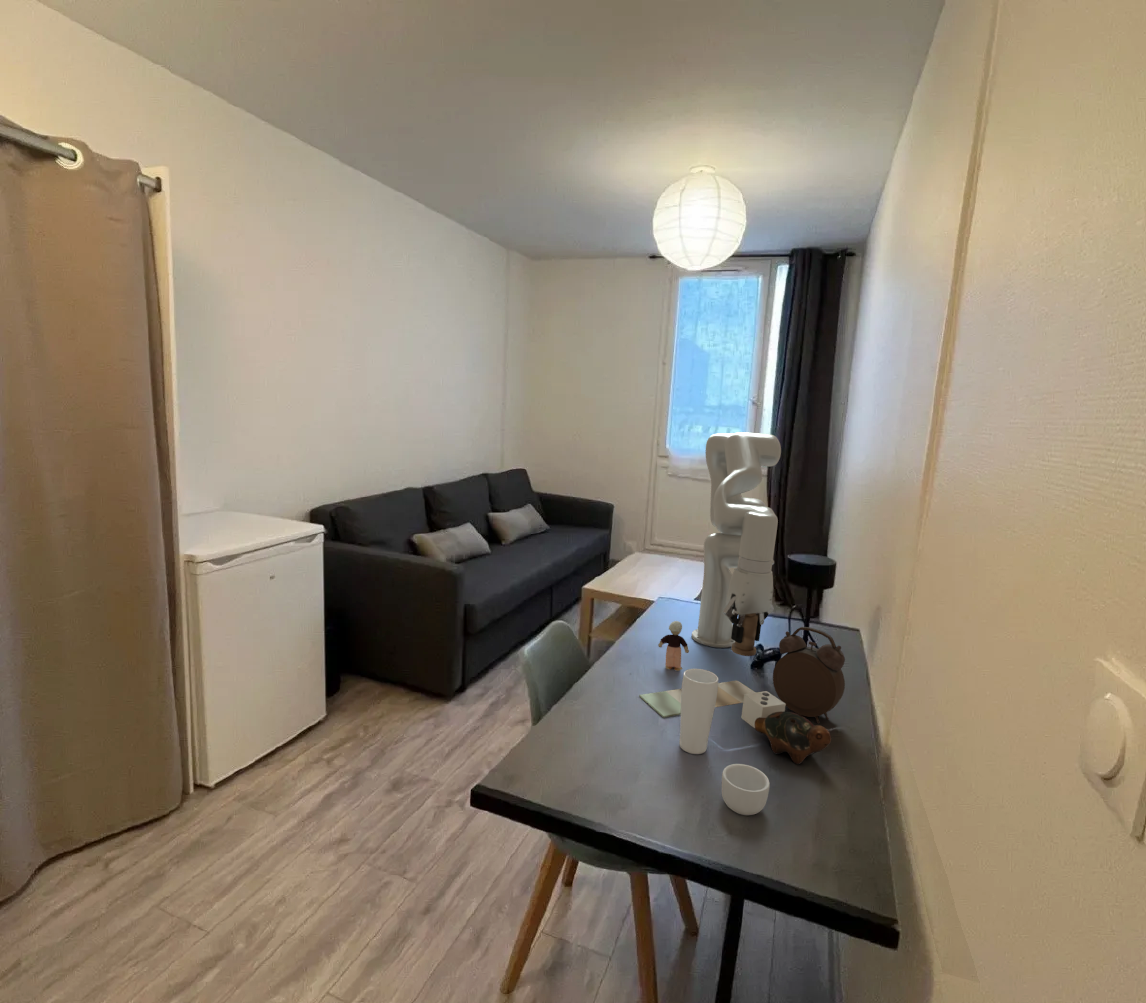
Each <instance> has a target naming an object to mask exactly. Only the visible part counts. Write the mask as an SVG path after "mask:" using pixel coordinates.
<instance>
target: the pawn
mask: <svg viewBox="0 0 1146 1003" xmlns="http://www.w3.org/2000/svg"><path fill="white" fill-rule="evenodd" d="M756 614H757V613H752V614H746V615H745V618H744V621H743V624H742V627H744V632H743V639H742V643H737V642H736V641H735V643H733V644H732V646H731V651H732V652H733V653H734V654H736V655H739V656H743V657H754V656H756V654H757V648H756V646H755V644H756V643H755V642H756V641H755V636H756V628H757V621H758V615H756ZM737 618H738V619H739V615H738V617H737Z"/></svg>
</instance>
